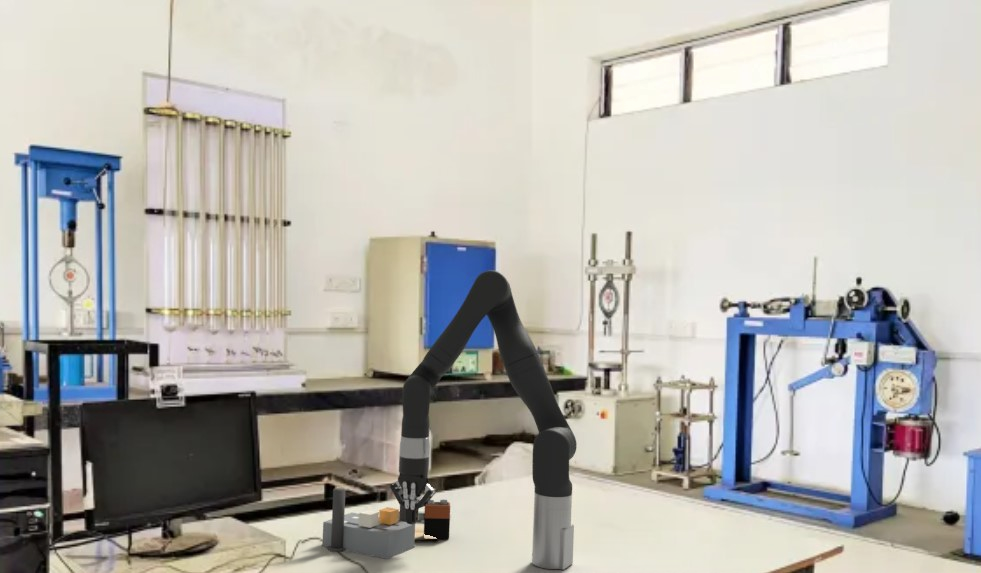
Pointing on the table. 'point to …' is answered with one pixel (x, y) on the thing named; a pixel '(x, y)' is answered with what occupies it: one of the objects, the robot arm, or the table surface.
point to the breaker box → (373, 537)
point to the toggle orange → (388, 516)
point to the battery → (437, 519)
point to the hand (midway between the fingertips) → (411, 523)
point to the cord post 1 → (337, 520)
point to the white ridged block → (368, 518)
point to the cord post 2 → (402, 514)
